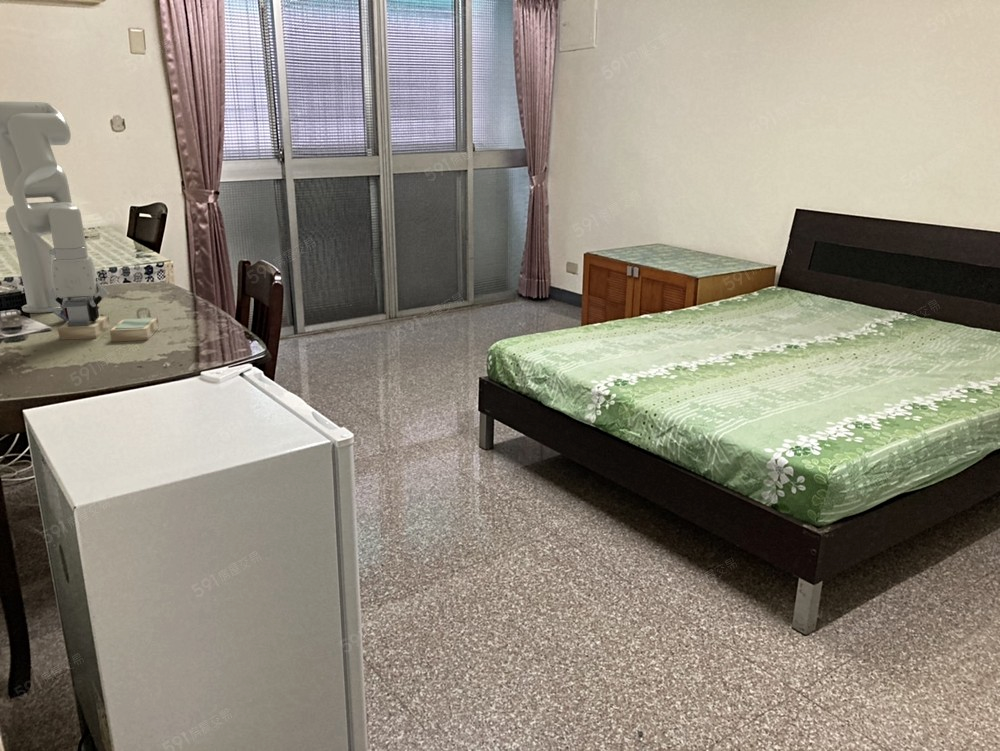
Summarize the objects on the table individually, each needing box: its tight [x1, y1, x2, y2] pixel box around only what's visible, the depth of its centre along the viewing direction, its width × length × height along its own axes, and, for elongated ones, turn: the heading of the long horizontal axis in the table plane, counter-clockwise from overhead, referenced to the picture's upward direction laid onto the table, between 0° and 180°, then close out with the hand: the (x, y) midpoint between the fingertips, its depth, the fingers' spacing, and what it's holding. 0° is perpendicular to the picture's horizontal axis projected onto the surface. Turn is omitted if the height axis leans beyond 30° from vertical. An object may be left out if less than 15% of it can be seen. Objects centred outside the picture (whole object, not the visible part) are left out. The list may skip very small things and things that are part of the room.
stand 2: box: [109, 317, 160, 342], centre depth 205 cm, size 12×9×3 cm
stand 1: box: [57, 315, 111, 341], centre depth 207 cm, size 12×9×3 cm
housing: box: [64, 297, 99, 327], centre depth 205 cm, size 9×5×7 cm, turn 10°
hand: (83, 319), depth 206 cm, fingers closed on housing, 5 cm apart
